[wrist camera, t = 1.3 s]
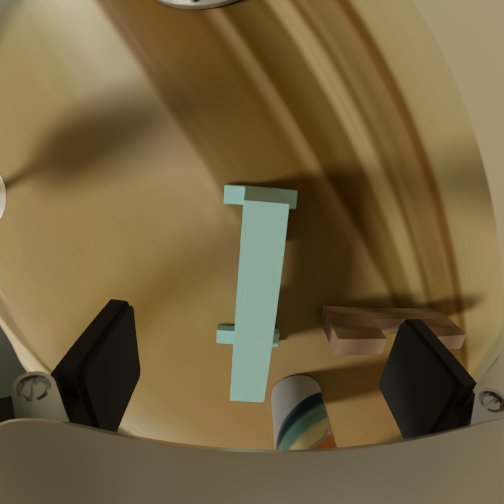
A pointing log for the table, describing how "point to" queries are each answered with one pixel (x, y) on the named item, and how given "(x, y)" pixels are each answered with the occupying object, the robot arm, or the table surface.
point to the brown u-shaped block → (381, 327)
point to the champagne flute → (2, 197)
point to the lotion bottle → (300, 415)
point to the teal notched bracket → (256, 286)
